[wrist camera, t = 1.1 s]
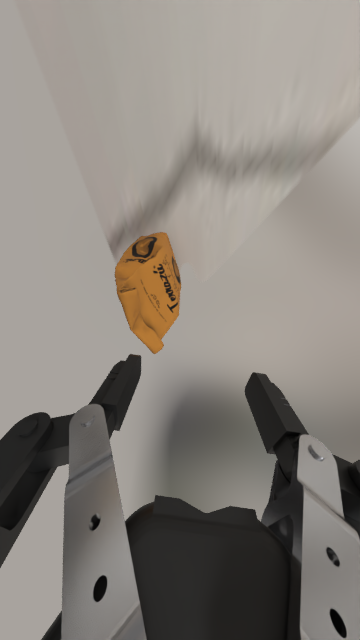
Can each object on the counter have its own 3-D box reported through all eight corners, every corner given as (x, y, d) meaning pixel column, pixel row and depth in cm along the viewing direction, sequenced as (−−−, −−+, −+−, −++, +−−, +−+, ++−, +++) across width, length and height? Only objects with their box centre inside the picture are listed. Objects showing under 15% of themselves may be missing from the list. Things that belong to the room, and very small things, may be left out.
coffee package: (173, 226, 29) (166, 268, 12) (182, 282, 37) (185, 353, 20) (127, 236, 30) (62, 286, 13) (145, 288, 38) (120, 360, 21)
